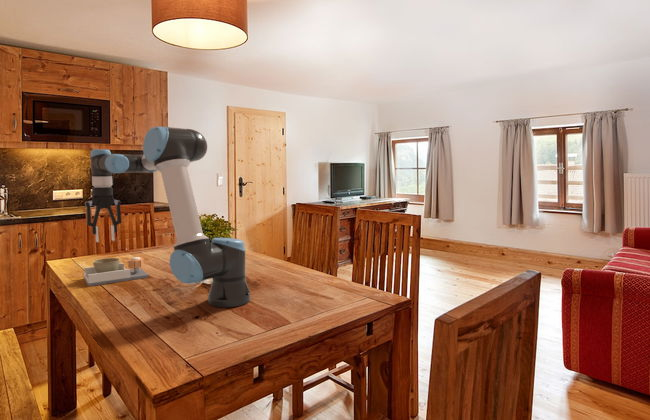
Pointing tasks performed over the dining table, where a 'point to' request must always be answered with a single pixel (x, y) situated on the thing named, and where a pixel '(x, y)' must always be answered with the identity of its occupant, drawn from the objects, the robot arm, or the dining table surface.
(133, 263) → the wheel
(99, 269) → the flower pot
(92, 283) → the chassis
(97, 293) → the dining table surface
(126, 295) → the dining table surface
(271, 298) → the dining table surface
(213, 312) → the dining table surface
